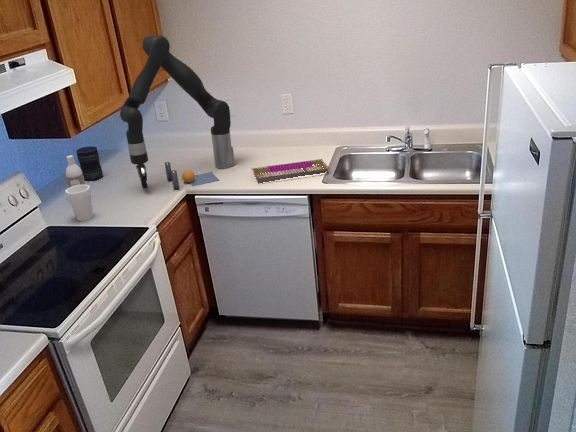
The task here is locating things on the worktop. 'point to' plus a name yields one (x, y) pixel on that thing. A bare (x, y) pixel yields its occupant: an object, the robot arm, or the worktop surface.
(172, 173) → the post
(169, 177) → the post
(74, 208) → the foam cup
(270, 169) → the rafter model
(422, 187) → the worktop surface
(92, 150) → the storage jar
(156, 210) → the worktop surface
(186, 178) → the ball
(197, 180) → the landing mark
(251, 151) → the worktop surface
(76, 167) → the bath foam
